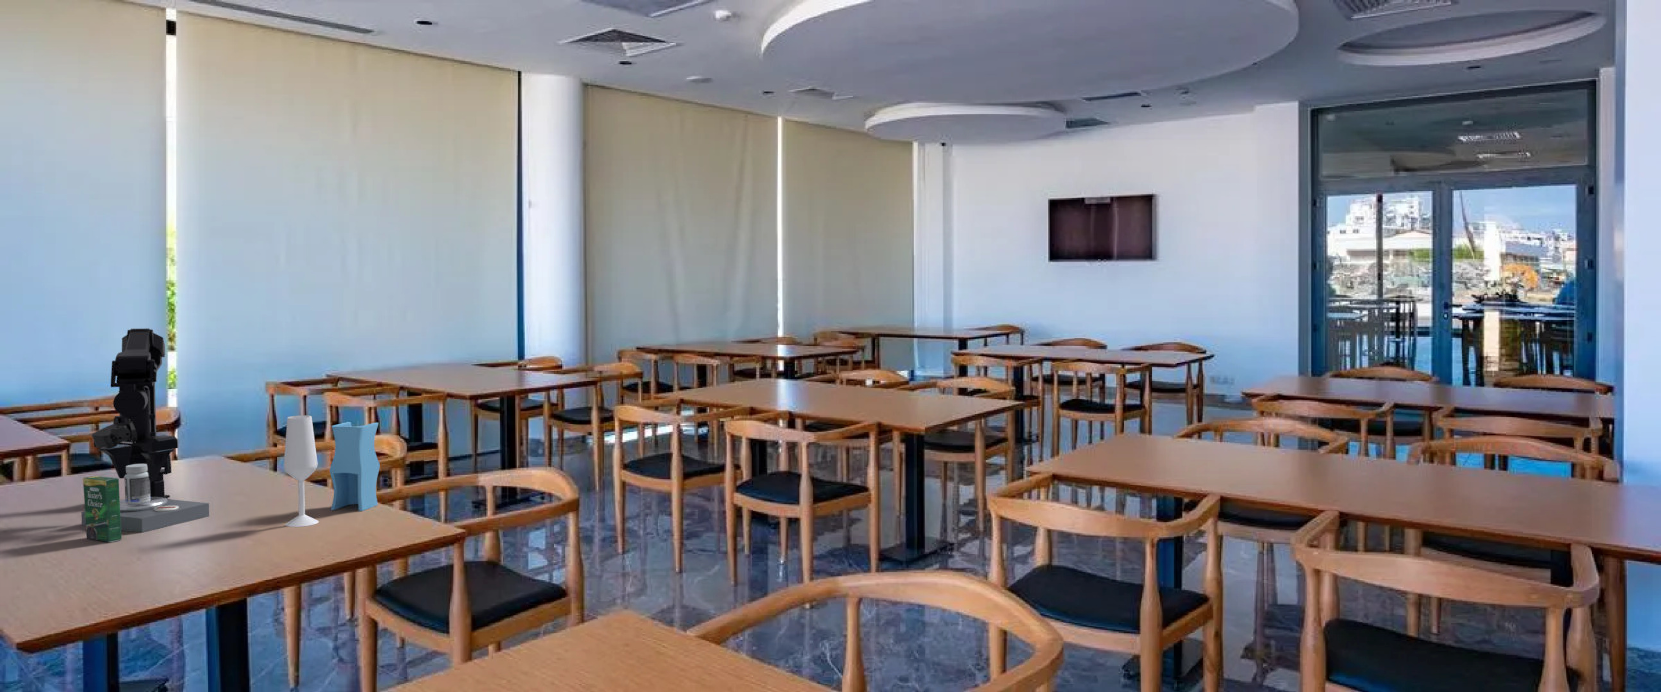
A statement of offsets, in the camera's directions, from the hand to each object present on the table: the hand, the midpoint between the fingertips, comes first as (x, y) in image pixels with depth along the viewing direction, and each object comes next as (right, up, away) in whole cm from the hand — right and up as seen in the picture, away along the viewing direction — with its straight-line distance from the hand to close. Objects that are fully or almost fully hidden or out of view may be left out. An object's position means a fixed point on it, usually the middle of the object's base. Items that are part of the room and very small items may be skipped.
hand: (137, 479), depth 225 cm
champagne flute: (+38, -10, -1) cm, 39 cm away
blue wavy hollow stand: (+42, -9, +16) cm, 46 cm away
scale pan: (0, -6, +1) cm, 6 cm away
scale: (+2, -9, 0) cm, 10 cm away
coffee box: (+4, -11, -16) cm, 20 cm away
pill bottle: (0, -5, 0) cm, 5 cm away
